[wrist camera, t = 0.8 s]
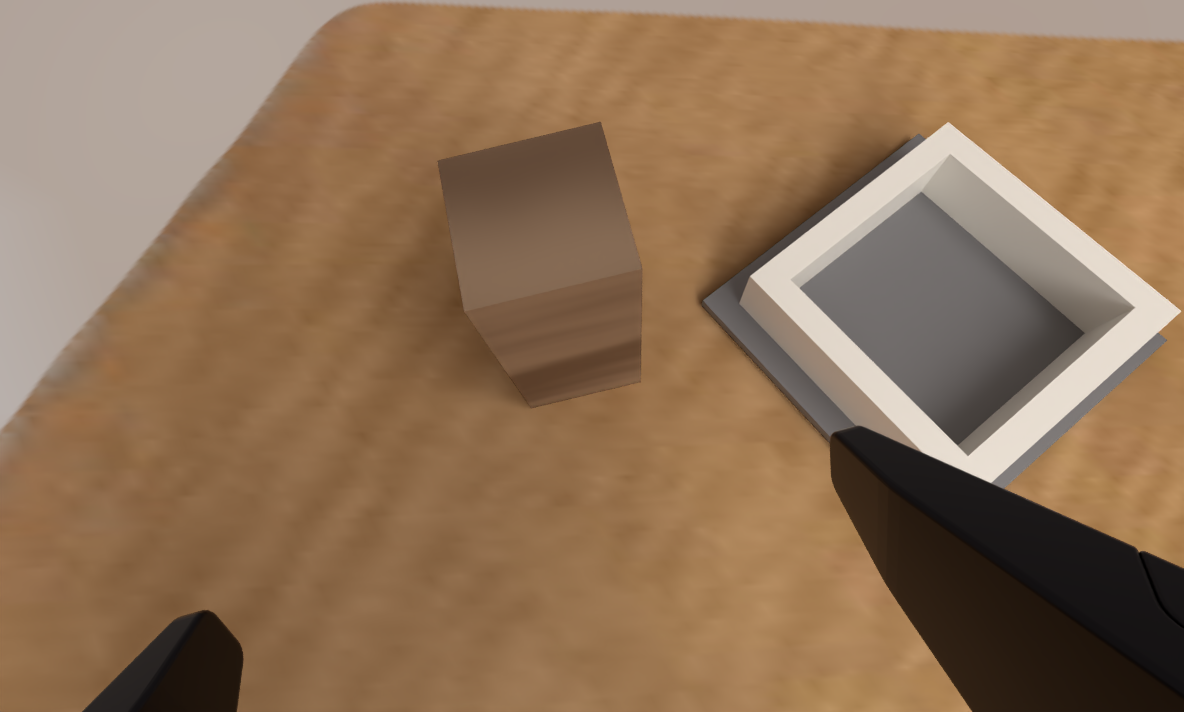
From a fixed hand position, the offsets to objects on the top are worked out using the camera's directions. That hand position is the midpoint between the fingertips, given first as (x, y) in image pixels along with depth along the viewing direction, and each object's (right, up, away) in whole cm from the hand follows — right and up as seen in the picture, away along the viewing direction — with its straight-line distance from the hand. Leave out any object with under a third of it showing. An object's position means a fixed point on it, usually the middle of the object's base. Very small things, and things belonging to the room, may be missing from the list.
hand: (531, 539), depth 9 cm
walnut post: (0, +3, +16) cm, 17 cm away
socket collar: (+14, +4, +16) cm, 21 cm away
